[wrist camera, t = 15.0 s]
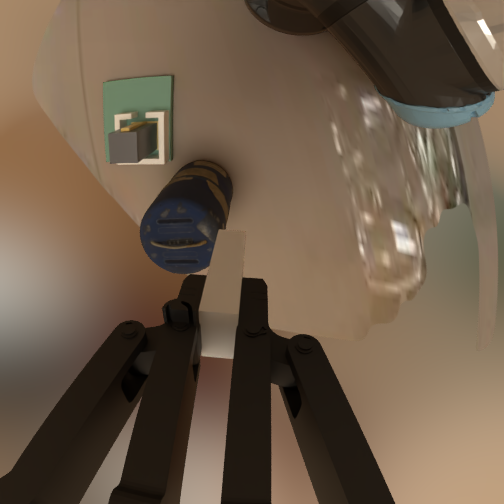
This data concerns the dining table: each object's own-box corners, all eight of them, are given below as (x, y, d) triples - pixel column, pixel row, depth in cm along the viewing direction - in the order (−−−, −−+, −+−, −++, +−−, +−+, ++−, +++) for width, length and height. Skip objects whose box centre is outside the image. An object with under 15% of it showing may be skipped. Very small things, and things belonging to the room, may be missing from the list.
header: (121, 112, 38) (114, 114, 36) (169, 110, 38) (163, 111, 36) (123, 160, 42) (117, 164, 40) (169, 159, 42) (164, 164, 40)
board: (106, 82, 36) (103, 82, 35) (173, 75, 37) (171, 75, 36) (109, 159, 43) (106, 161, 42) (172, 159, 43) (170, 161, 42)
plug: (132, 121, 39) (107, 130, 32) (157, 120, 39) (136, 128, 32) (133, 149, 41) (110, 163, 34) (157, 148, 41) (137, 163, 34)
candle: (178, 153, 43) (134, 196, 28) (240, 165, 44) (228, 214, 28) (171, 209, 48) (132, 273, 32) (227, 221, 49) (212, 291, 33)
